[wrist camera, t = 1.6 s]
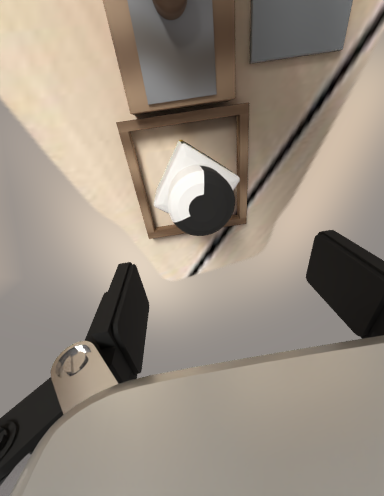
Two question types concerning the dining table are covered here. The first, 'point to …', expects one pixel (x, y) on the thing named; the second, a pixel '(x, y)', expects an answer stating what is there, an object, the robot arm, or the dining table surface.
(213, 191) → the medicine bottle
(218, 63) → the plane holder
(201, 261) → the dining table surface
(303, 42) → the slate mat
